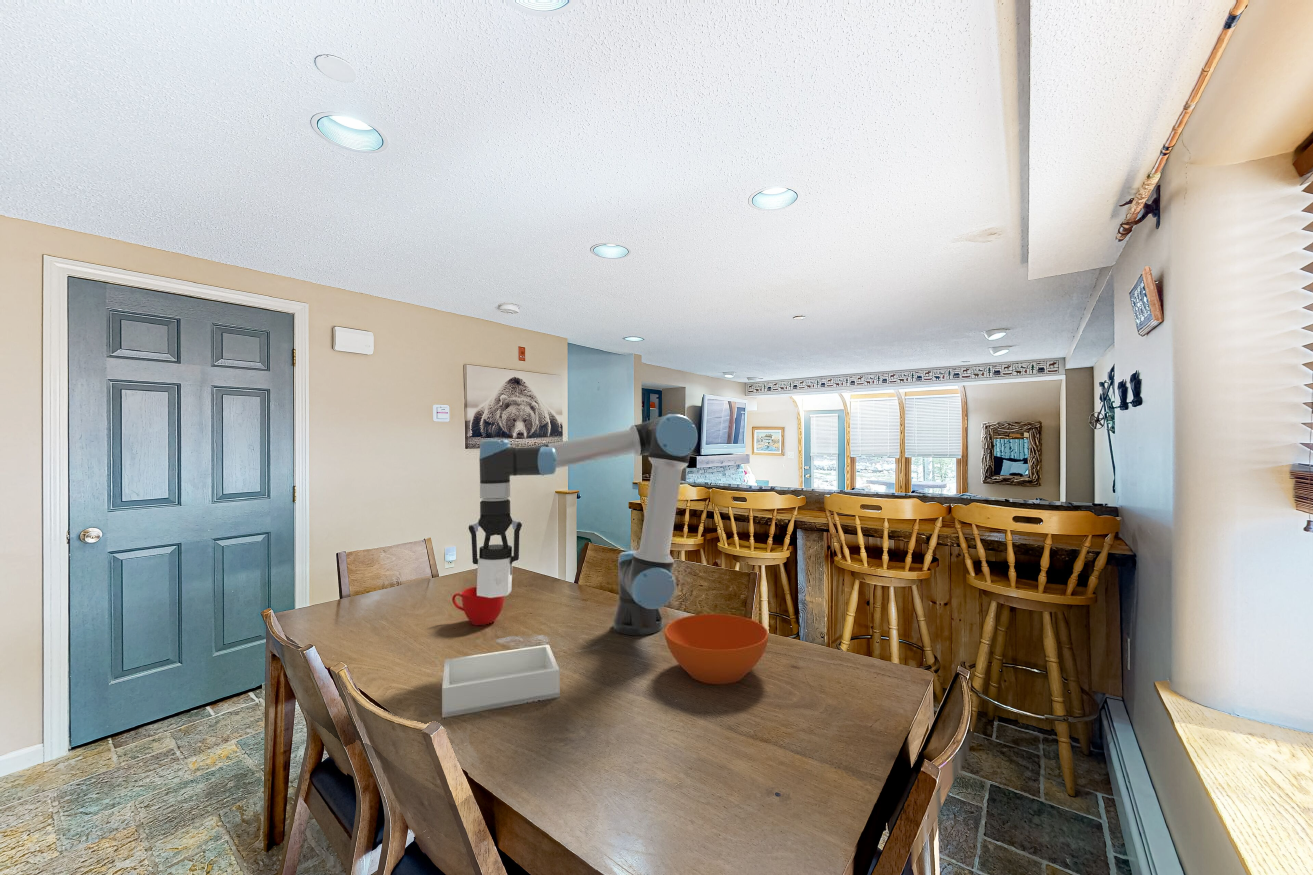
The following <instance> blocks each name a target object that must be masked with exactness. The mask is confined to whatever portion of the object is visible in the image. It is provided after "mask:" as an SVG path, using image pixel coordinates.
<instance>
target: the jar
mask: <svg viewBox="0 0 1313 875" xmlns="http://www.w3.org/2000/svg"><path fill="white" fill-rule="evenodd" d="M478 553H479V556H478V557H477V559H478V565H477V575H476V576H477V577H476V578H477V579H476V587H477V596H483V597H488V598H493V597H500V596H504V597H506V596H509V594H510V593H511V592H512V591H513V590H512V589H513V588H512V586H513V585H512V584H513V582H512V581H513V573H512V574H511V564H510V561H511V557H512V556H513V555H512V554H513V547H512V545H510V544H508V547H503V543H502V544H500V543H498V544H489V547H488V548H483V545H482V546H480V547H479V552H478Z"/></svg>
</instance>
